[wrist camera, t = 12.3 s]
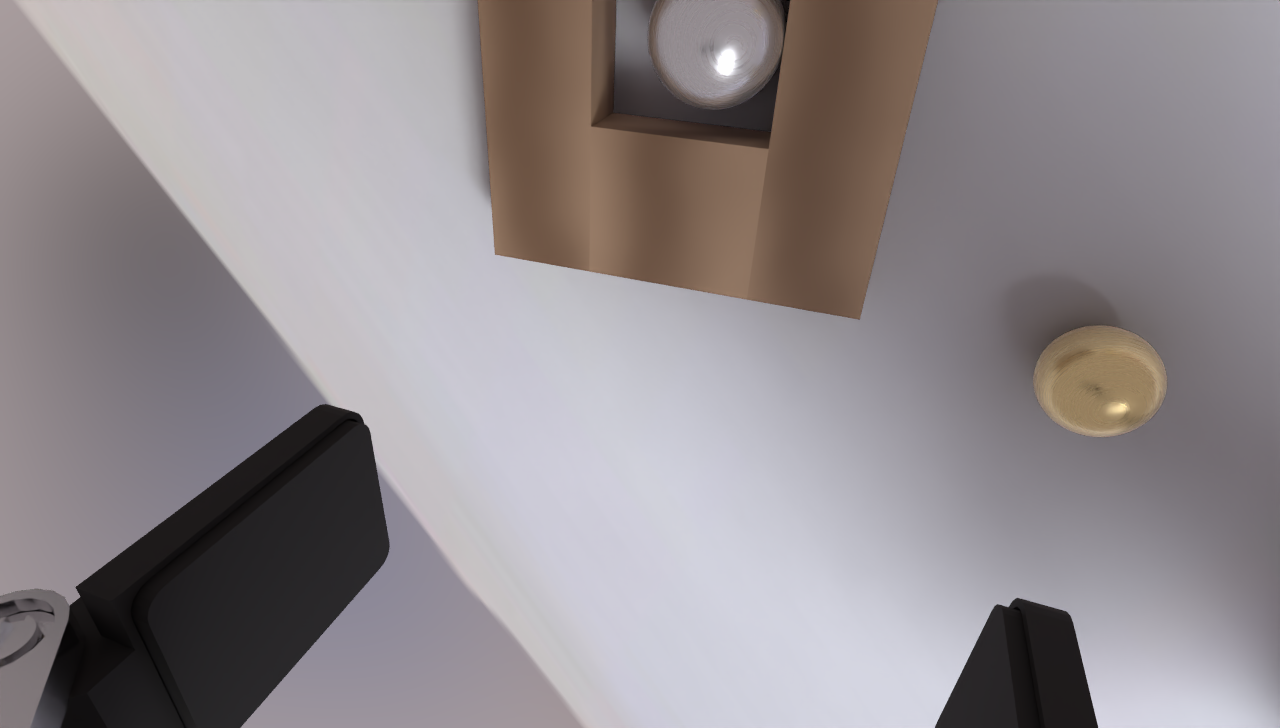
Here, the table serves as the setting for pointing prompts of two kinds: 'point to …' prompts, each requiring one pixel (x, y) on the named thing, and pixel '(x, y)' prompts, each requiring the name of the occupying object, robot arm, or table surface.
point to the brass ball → (1100, 381)
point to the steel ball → (716, 48)
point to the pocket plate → (702, 155)
